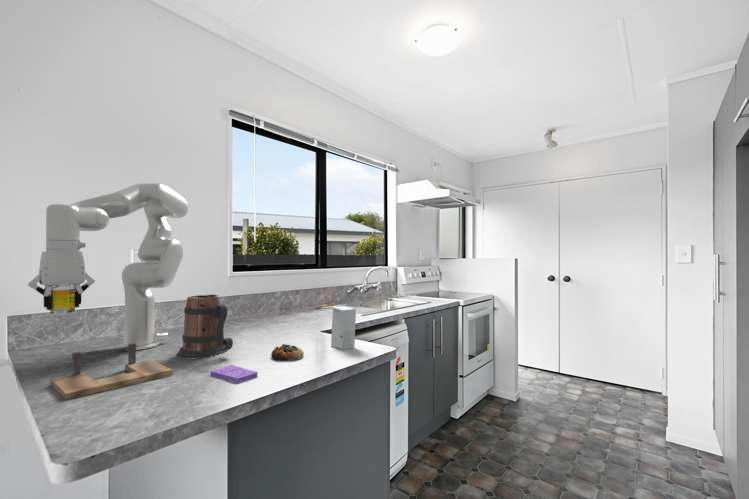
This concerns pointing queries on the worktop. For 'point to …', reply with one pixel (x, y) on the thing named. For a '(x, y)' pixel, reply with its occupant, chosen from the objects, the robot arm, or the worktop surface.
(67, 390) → the shelf board
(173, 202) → the robot arm
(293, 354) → the bread roll
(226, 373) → the sponges
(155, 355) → the worktop surface
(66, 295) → the supplement bottle
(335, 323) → the skincare box
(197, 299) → the tankard
